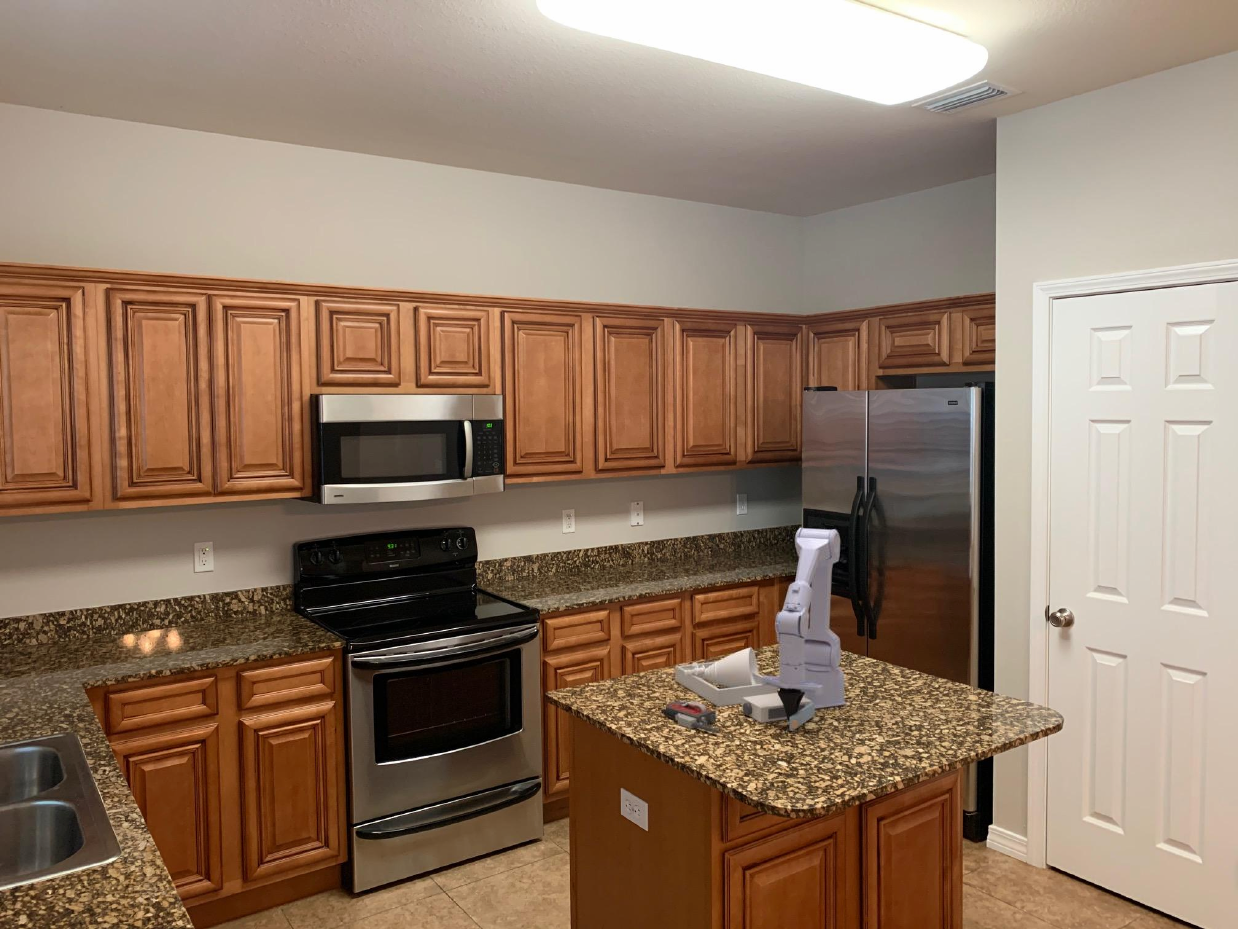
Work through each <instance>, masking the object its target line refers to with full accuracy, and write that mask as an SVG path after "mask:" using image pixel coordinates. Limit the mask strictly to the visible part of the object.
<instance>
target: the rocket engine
mask: <svg viewBox="0 0 1238 929" xmlns="http://www.w3.org/2000/svg"><path fill="white" fill-rule="evenodd" d="M714 662H715V663H714V664H712V665H711V666H709V667H708V668H706V669H705V667H704V665H702V666H701V668H699V666H698V665H697V664H698V662H697V661H696V662H692V664H693V665H692V666H693V668H694V669H691V670H690V669H688V670H686V671H685V670H684V673H685V675H686V674H689V675H690V674H694V675H696V676H697V677H699V678H701V679H703V680H704V681H706V682H707V681H709V682H710V683H714V684H716V685H717V686H718V687H720V686H722V687H725V688H732V687H740V686H748V685H756V682H755V680H754V678H753V674H752V673H758V674H759V669H758V662H757V658H756V654H755V651H754V649H753V648H752V647H748V648H747V647H746V648H745V649H742V650H739V651H737V652H734V653H731V654H730V655H728V656H725V657H724V658H722V659H718V661H717V660H716V661H714Z"/></svg>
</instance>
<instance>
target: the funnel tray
mask: <svg viewBox="0 0 1238 929" xmlns="http://www.w3.org/2000/svg"><path fill="white" fill-rule="evenodd" d="M715 662H716V661H712V662H711V661H709V662H702V663H701V662H700V663H697V665H698V666H699V668H701V666H702V665H704V667H705V669H706V668H708V667H709V666H711V665H712V664H714V663H715ZM692 665H693V663H692V664H691V663H690V664H683V665H676V666H675V667H674V668H675V672H674V674H675V676H674V678H675V679H674V680H675V682H677V683H678V684H680V685H681V686H683V687H685V688H686V689H688V690H690V691H691V692H694V693H695V694H697V695H698V696H700V697H702V698H703V699H705V700H706V701H708V702H709V703H711V704H713V705H714V706H717V707H724V706H731V705H733V706H734V705H739V704H740V705H742V698H743V697H750V696H758V695H765V694H773V693H778V687H774V686H768V685H767V686H763V685H762V677H764V676H765V675H762V674H760V673H759V672H758V673H752V674H753V678H754V680H755V682H756V685H748V686H740V687H732V688H729V687H725V688H718V687H716V686H715V685H714V684H712V683H711V682H710V683H709V682H708V681H707V680H706V681H704V680H703V679H701V678H699V677H697V676H696V675H694V674H690V675H689V674H686V675H685V673H684V670H685V671H686V670H688V669H690V670H691V669H694V668H693V666H692Z"/></svg>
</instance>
